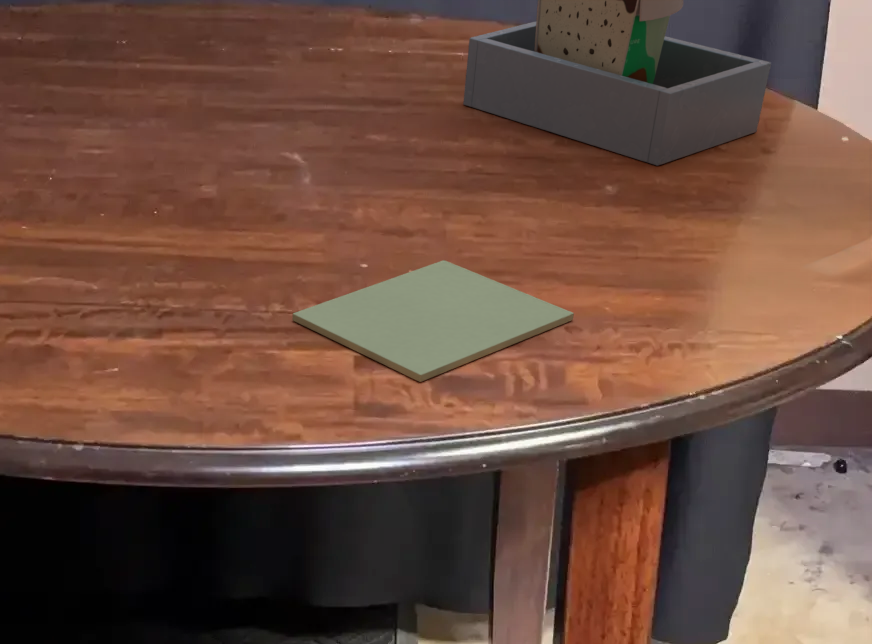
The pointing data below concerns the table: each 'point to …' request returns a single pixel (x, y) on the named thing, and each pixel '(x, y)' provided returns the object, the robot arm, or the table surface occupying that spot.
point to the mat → (432, 319)
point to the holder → (619, 95)
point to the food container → (606, 33)
